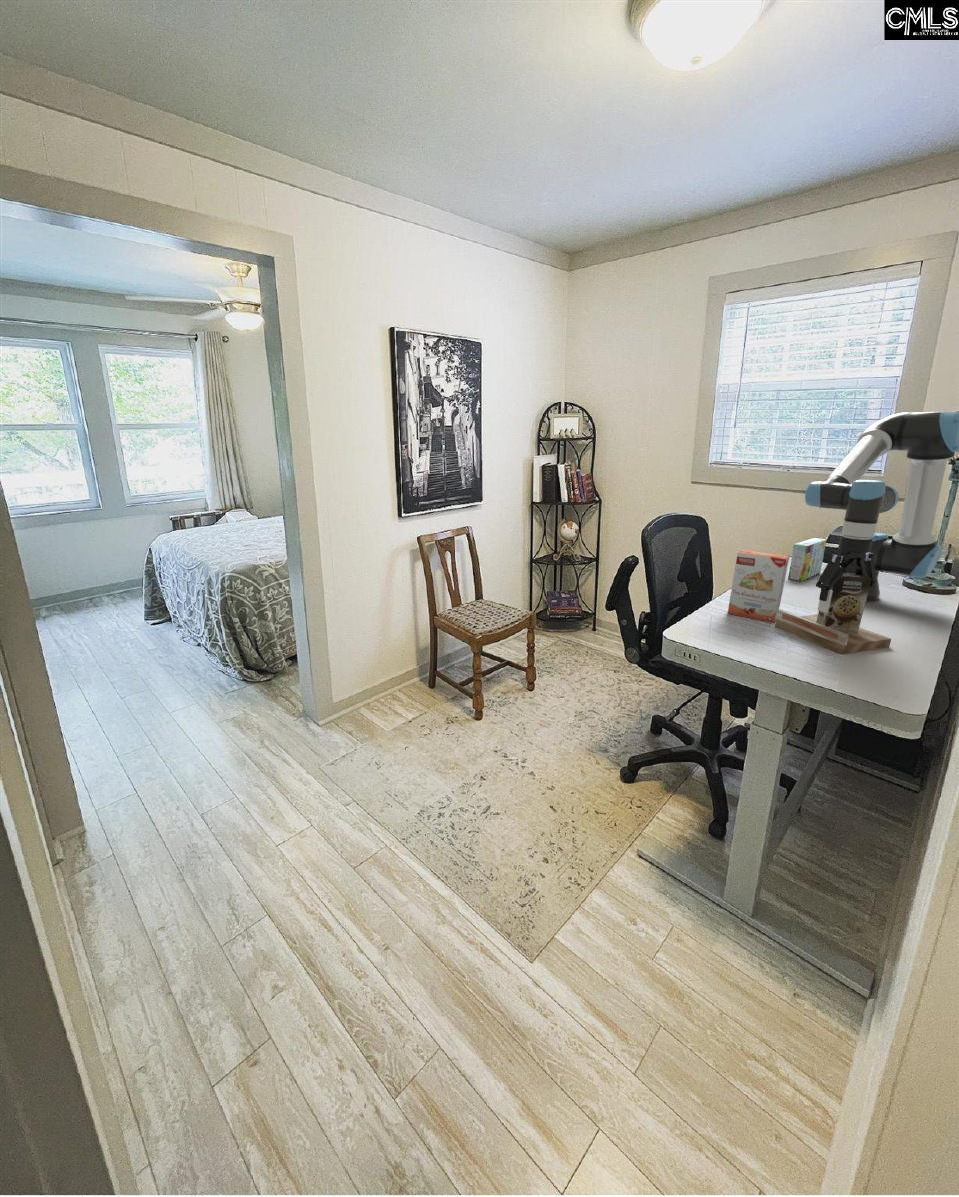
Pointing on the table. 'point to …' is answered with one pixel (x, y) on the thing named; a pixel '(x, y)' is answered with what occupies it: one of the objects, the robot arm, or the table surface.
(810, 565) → the snack box
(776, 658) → the table surface
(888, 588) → the table surface
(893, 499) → the robot arm
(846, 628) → the cookie box
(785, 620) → the shelf board
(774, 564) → the cracker box
